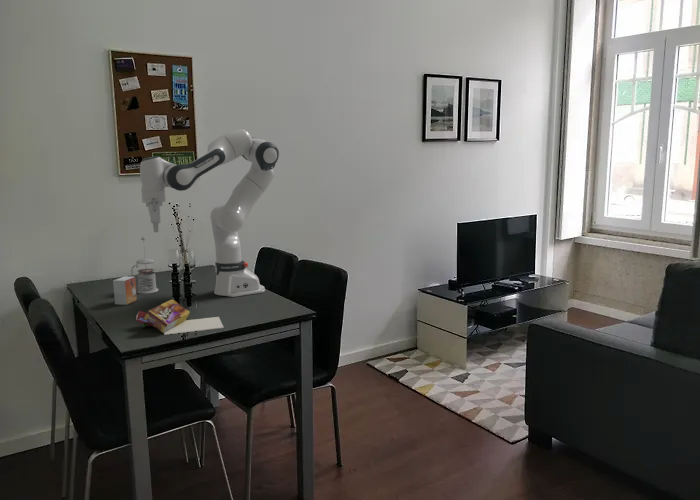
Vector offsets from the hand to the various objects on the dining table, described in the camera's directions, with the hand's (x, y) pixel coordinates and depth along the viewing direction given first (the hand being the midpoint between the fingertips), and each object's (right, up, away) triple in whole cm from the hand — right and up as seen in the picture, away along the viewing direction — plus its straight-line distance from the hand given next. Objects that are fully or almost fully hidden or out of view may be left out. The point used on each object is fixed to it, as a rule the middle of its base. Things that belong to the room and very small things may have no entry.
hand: (156, 231), depth 231 cm
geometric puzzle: (+4, -36, -22) cm, 42 cm away
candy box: (+14, -30, -16) cm, 37 cm away
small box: (-17, -30, +12) cm, 36 cm away
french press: (-16, -26, +31) cm, 44 cm away
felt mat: (+21, -35, -22) cm, 46 cm away
